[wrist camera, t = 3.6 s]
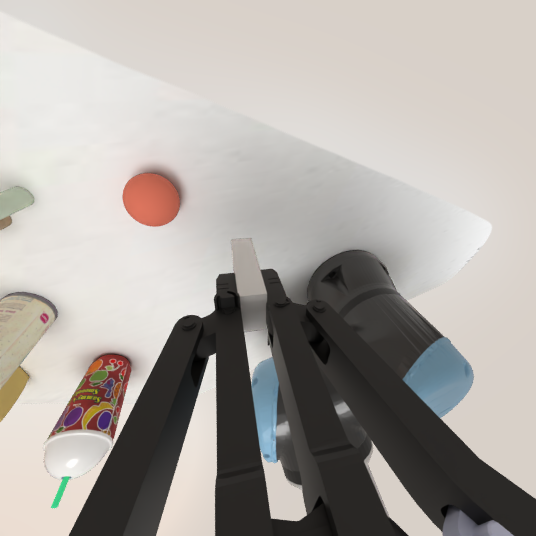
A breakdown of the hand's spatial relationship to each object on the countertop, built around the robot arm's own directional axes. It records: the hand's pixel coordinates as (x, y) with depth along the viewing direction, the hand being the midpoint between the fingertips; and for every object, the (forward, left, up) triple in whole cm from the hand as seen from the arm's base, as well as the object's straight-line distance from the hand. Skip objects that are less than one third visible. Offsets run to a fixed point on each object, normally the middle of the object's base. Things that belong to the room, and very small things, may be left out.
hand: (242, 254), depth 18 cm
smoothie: (+24, +32, -17) cm, 43 cm away
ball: (+9, 0, -14) cm, 16 cm away
